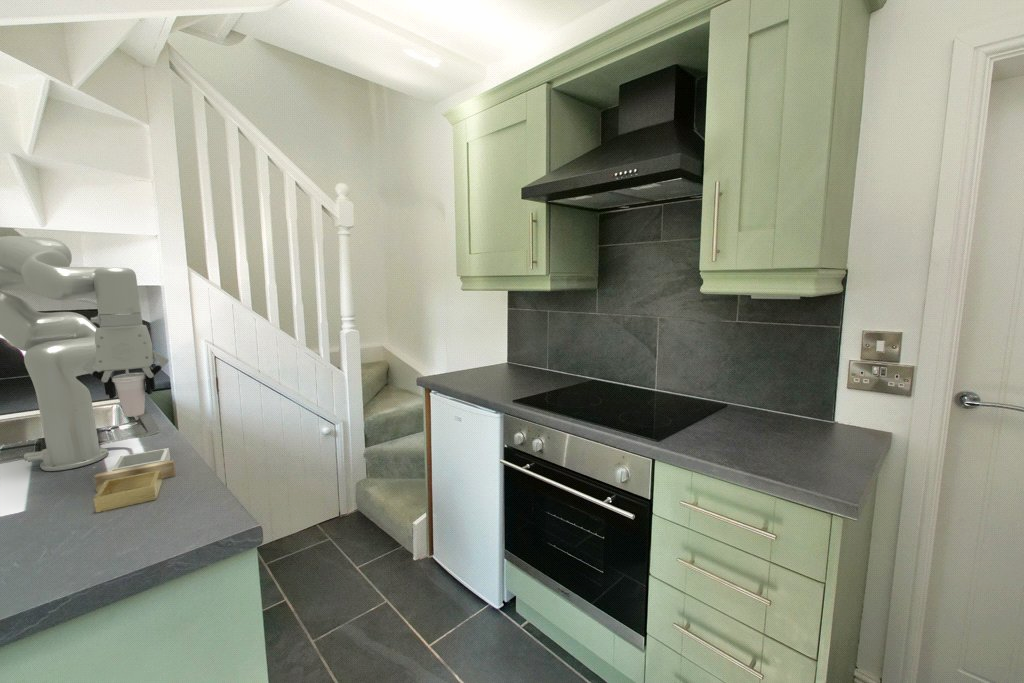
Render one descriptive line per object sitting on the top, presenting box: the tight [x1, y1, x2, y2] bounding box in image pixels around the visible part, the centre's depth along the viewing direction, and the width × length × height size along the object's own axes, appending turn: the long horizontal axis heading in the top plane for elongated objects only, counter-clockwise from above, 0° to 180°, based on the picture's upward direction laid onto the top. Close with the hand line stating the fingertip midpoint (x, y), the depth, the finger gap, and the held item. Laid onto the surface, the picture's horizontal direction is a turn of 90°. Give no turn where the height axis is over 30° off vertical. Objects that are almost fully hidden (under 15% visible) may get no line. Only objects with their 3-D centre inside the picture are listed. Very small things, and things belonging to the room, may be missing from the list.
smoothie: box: [111, 369, 146, 418], centre depth 106 cm, size 6×6×14 cm
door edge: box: [93, 459, 177, 493], centre depth 103 cm, size 14×2×4 cm, turn 122°
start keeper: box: [111, 447, 171, 471], centre depth 109 cm, size 10×10×3 cm
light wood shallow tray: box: [93, 470, 163, 514], centre depth 96 cm, size 10×10×3 cm
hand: (131, 394), depth 107 cm, fingers closed on smoothie, 6 cm apart
